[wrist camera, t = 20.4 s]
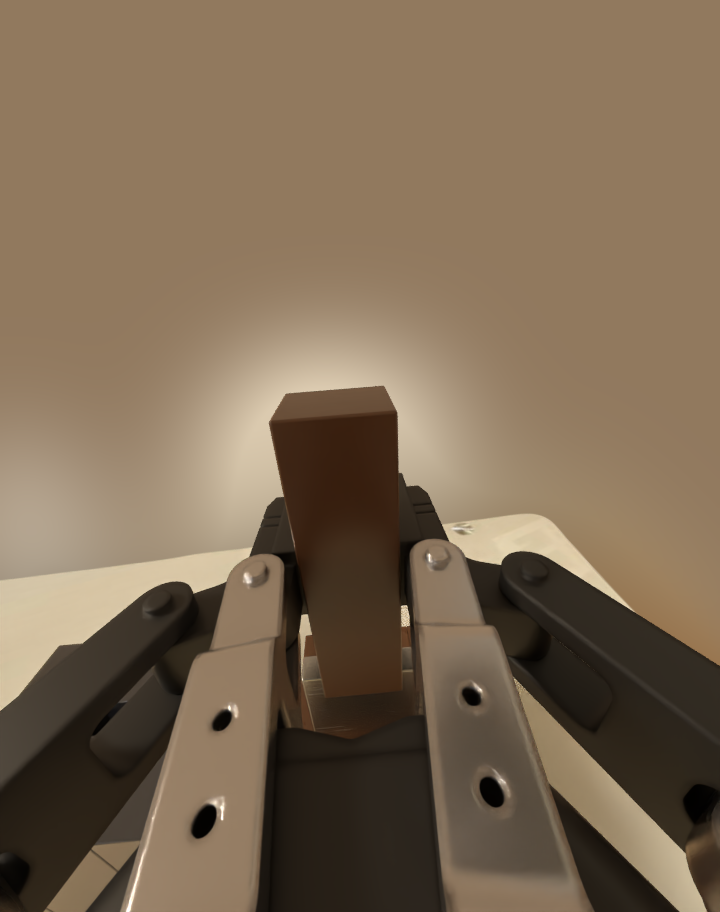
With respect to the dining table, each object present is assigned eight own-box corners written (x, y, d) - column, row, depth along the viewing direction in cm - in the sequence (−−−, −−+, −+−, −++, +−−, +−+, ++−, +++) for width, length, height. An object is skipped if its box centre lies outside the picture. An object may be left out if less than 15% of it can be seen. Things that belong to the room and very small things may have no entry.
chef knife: (337, 845, 15) (224, 424, 6) (337, 787, 17) (251, 396, 8) (422, 836, 15) (441, 407, 6) (413, 779, 17) (417, 382, 8)
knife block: (16, 929, 17) (-123, 867, 13) (120, 726, 25) (59, 645, 21) (225, 906, 17) (161, 838, 13) (262, 712, 25) (231, 629, 21)
